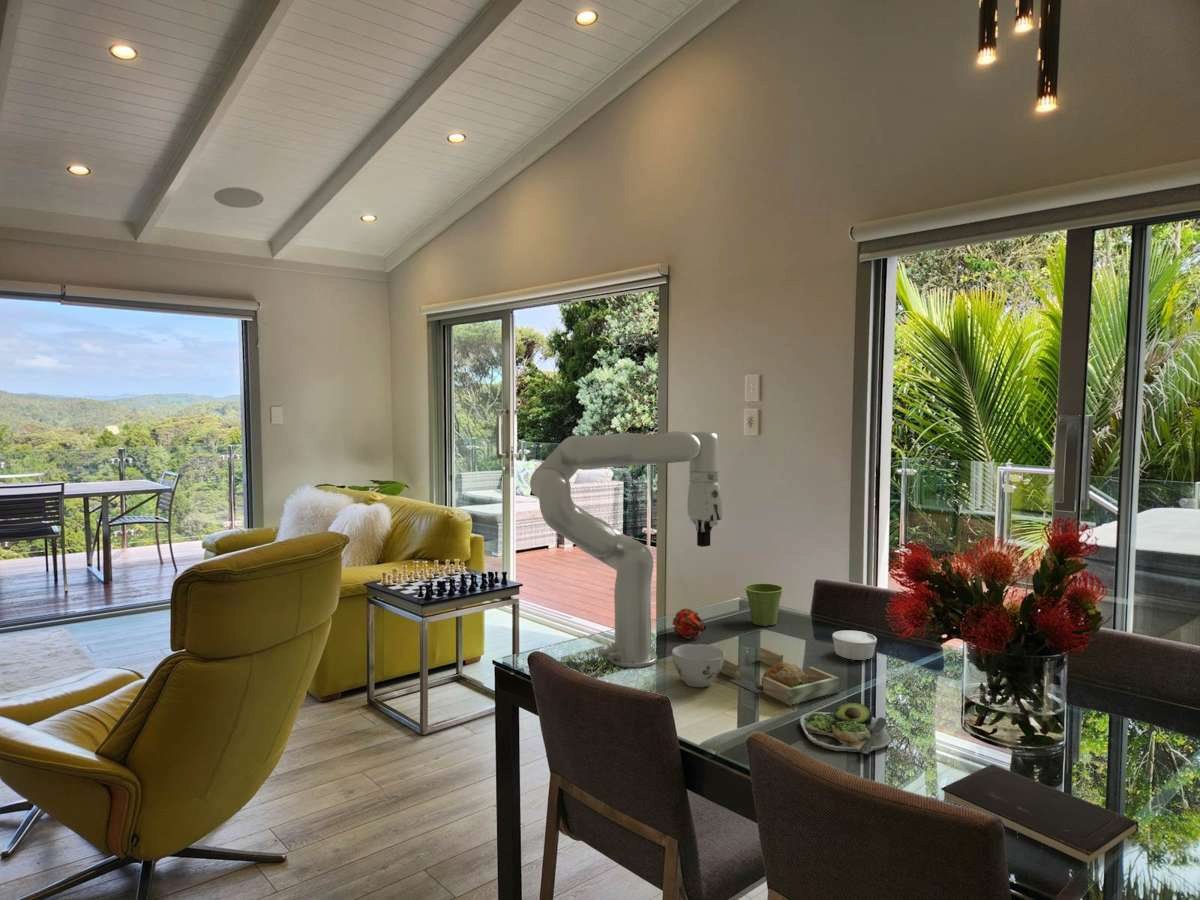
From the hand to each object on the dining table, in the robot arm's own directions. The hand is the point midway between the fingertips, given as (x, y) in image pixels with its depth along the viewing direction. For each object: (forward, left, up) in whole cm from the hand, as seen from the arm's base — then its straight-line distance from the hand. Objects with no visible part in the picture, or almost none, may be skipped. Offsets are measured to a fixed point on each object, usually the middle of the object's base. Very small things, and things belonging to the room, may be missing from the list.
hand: (703, 545), depth 205 cm
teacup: (-15, -17, -29) cm, 37 cm away
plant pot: (+32, +13, -29) cm, 45 cm away
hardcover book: (-2, -93, -30) cm, 98 cm away
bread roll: (0, -31, -30) cm, 43 cm away
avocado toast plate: (-6, -56, -30) cm, 64 cm away
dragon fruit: (+5, +14, -29) cm, 33 cm away
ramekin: (+33, -22, -30) cm, 49 cm away
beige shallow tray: (+2, -25, -29) cm, 39 cm away
